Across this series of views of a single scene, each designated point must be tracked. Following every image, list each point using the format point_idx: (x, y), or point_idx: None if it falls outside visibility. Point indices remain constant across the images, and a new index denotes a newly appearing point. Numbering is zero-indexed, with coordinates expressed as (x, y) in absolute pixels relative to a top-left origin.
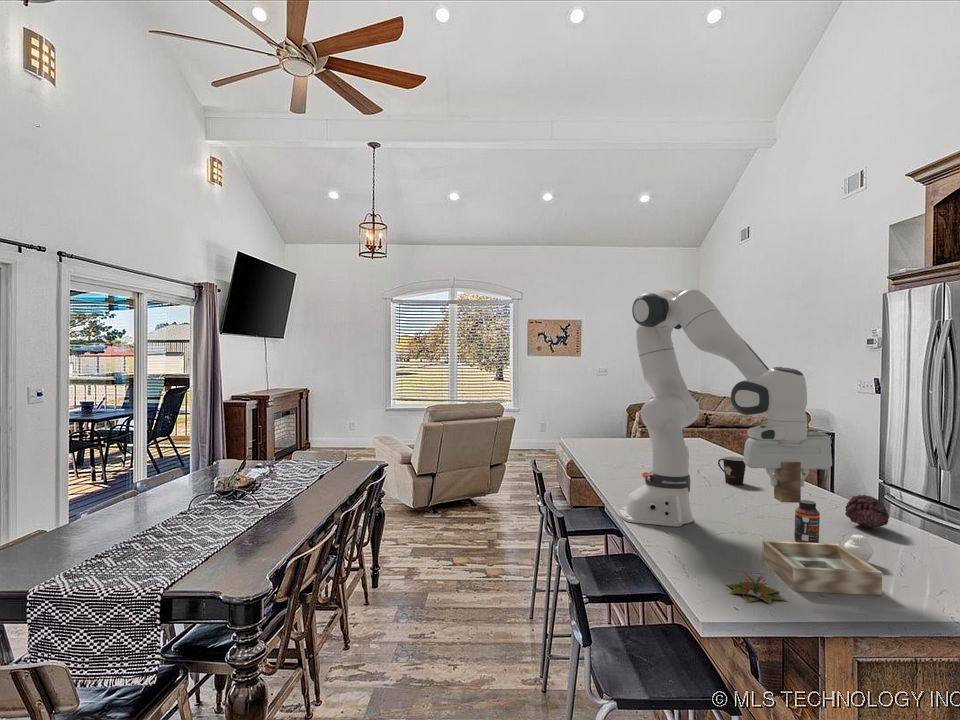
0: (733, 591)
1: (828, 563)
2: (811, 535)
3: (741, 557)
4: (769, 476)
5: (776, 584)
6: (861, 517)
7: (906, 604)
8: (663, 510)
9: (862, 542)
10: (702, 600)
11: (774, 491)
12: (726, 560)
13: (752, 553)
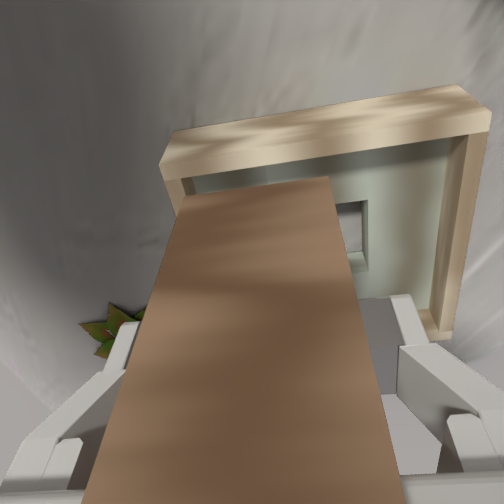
0: (99, 351)
1: (371, 213)
2: None
3: (102, 120)
4: (87, 395)
5: None
6: None
7: (455, 321)
8: None
9: None
10: (50, 382)
11: (176, 231)
12: (56, 167)
13: (141, 55)
